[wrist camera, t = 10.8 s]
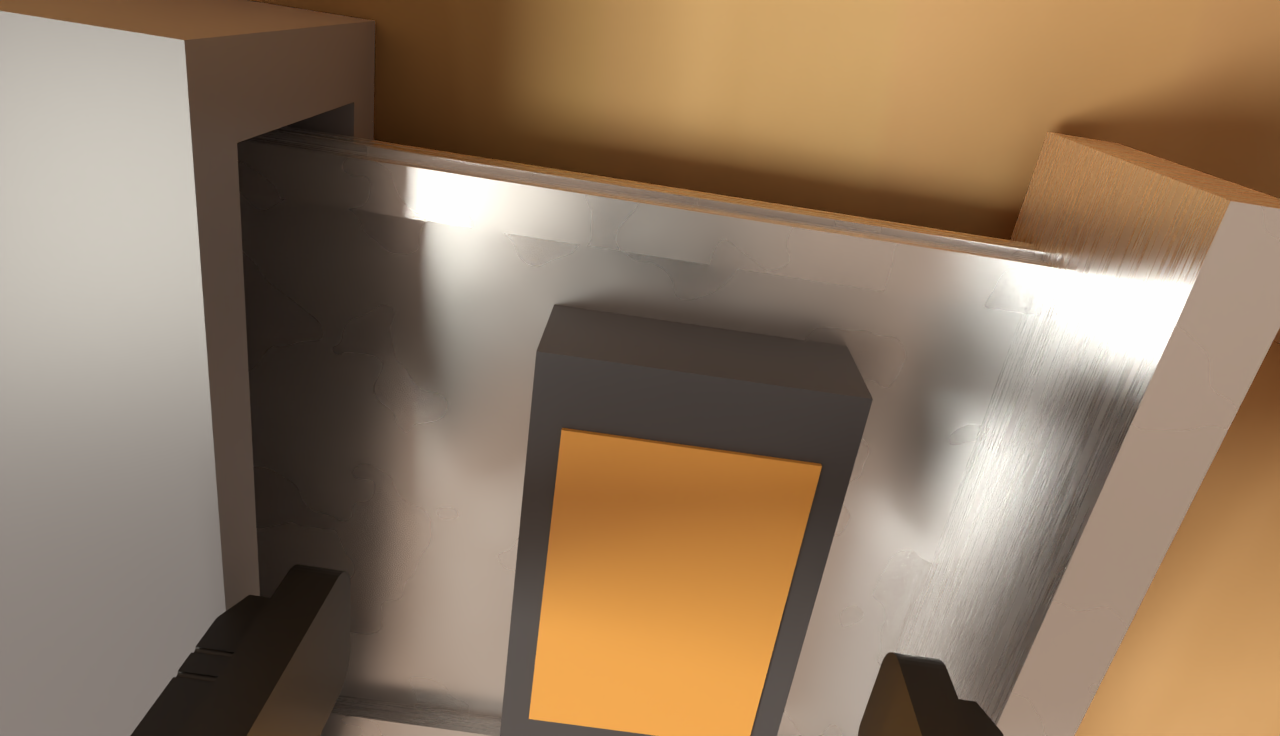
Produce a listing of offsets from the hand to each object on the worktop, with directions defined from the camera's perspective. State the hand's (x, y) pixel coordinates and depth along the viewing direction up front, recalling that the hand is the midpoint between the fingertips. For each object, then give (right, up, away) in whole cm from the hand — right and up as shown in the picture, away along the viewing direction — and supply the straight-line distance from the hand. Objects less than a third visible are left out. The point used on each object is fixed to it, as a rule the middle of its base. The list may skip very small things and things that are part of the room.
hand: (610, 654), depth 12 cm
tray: (-1, +2, +5) cm, 5 cm away
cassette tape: (+1, +1, +3) cm, 4 cm away
